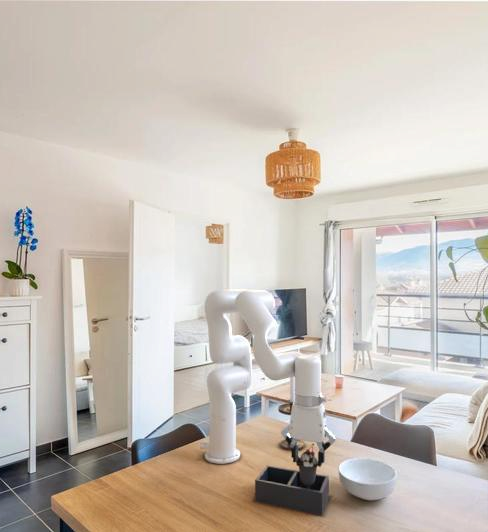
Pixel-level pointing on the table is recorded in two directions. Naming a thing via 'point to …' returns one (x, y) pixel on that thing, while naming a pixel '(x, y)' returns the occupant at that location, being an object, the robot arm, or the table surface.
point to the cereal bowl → (367, 478)
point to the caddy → (291, 490)
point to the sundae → (307, 467)
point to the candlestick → (287, 411)
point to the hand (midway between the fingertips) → (307, 462)
